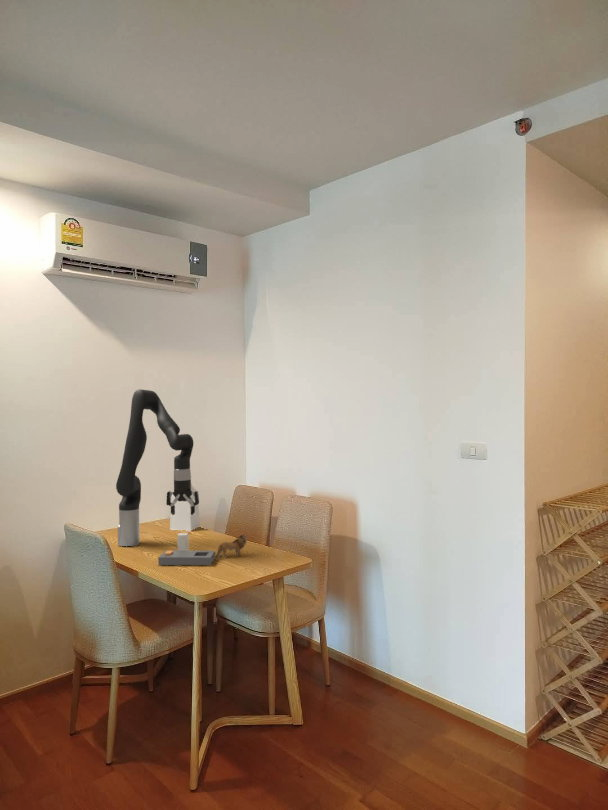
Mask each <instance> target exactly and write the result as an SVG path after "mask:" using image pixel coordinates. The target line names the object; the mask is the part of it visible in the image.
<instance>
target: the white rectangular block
mask: <svg viewBox="0 0 608 810" xmlns="http://www.w3.org/2000/svg"><path fill="white" fill-rule="evenodd" d="M189 537H190V536H189V533H188V532H179V533H178V534H177V538H176V539H177V543H176V544H177V551H190V550H189V549H190V548H189V546H190V545H189V544H190V543H189V540H190V539H189Z"/></svg>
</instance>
